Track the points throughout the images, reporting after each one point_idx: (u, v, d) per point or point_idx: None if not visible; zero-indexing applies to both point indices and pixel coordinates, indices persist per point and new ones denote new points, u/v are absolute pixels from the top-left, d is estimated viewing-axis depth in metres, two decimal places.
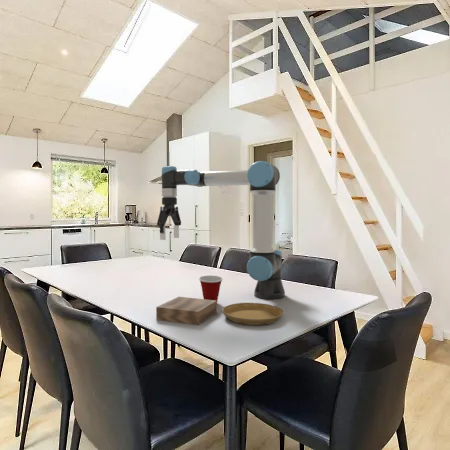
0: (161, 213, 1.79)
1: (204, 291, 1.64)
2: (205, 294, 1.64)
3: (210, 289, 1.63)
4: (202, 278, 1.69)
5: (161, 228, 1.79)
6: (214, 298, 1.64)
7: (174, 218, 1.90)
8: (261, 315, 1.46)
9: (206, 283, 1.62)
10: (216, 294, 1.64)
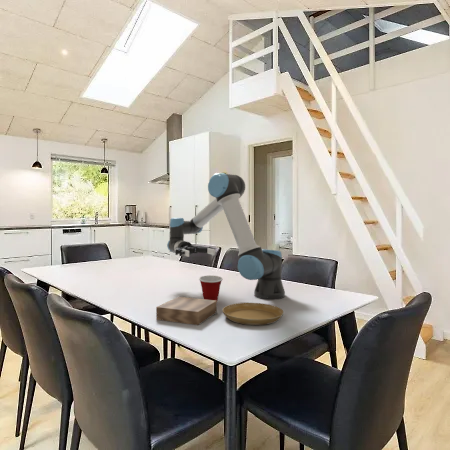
0: None
1: (204, 291, 1.64)
2: (205, 294, 1.64)
3: (210, 289, 1.63)
4: (202, 278, 1.69)
5: (180, 252, 1.75)
6: (214, 298, 1.64)
7: (200, 249, 1.85)
8: (261, 316, 1.46)
9: (206, 283, 1.62)
10: (216, 294, 1.64)
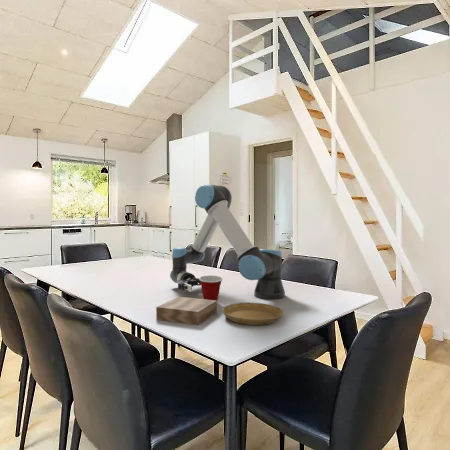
0: None
1: (204, 291, 1.64)
2: (205, 294, 1.64)
3: (210, 289, 1.63)
4: (202, 278, 1.69)
5: (183, 286, 1.72)
6: (214, 298, 1.64)
7: None
8: (261, 315, 1.46)
9: (206, 283, 1.62)
10: (216, 294, 1.64)
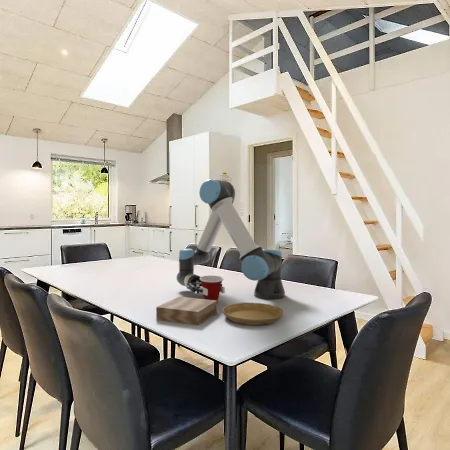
0: (189, 287, 1.71)
1: None
2: None
3: (210, 289, 1.63)
4: (203, 278, 1.69)
5: (198, 289, 1.64)
6: (215, 298, 1.64)
7: None
8: (261, 316, 1.46)
9: (207, 283, 1.62)
10: (217, 294, 1.65)
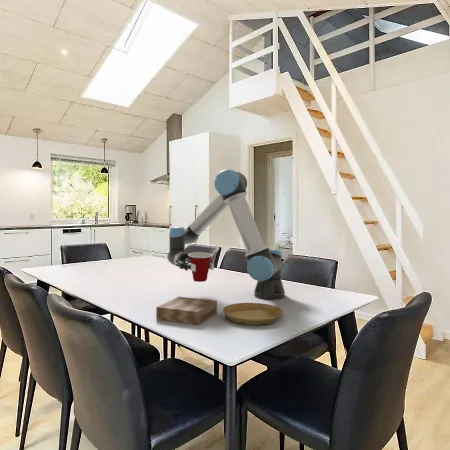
0: (178, 264, 1.65)
1: None
2: None
3: (199, 265, 1.56)
4: (191, 254, 1.63)
5: (186, 265, 1.58)
6: (203, 275, 1.58)
7: None
8: (261, 315, 1.46)
9: (195, 258, 1.56)
10: (206, 270, 1.58)
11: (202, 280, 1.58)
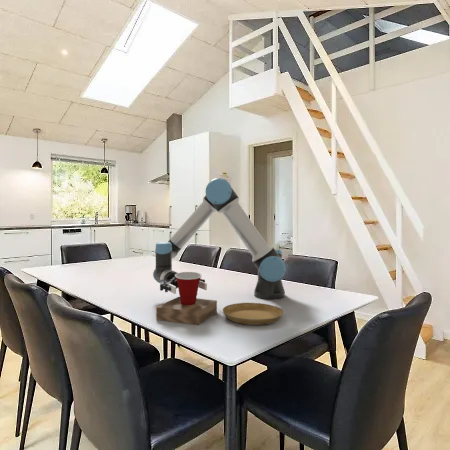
0: None
1: (180, 289, 1.45)
2: (182, 293, 1.45)
3: (186, 287, 1.43)
4: (179, 275, 1.50)
5: (166, 287, 1.45)
6: (192, 297, 1.45)
7: None
8: (261, 316, 1.46)
9: (183, 280, 1.43)
10: (194, 292, 1.45)
11: (190, 303, 1.45)
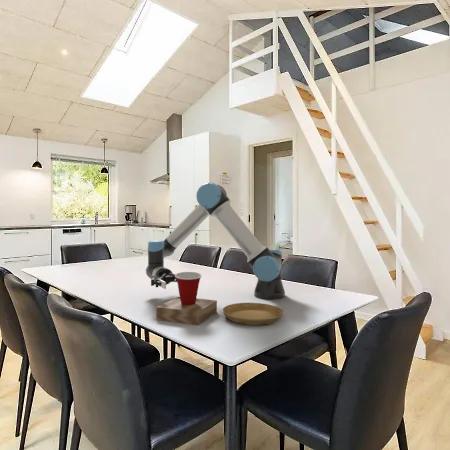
0: None
1: (180, 289, 1.45)
2: (182, 293, 1.45)
3: (186, 287, 1.43)
4: (179, 275, 1.50)
5: (156, 282, 1.54)
6: (192, 297, 1.45)
7: None
8: (261, 315, 1.46)
9: (183, 280, 1.43)
10: (194, 292, 1.45)
11: (190, 303, 1.45)
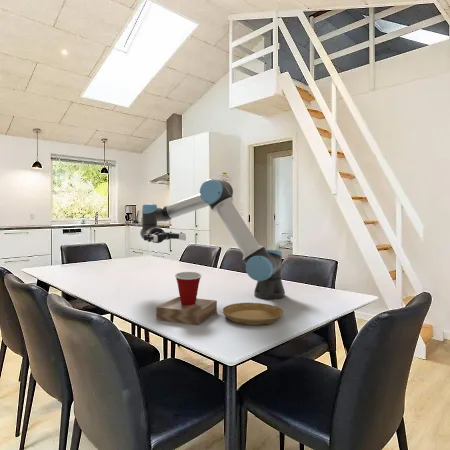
0: None
1: (180, 289, 1.45)
2: (182, 293, 1.45)
3: (186, 287, 1.43)
4: (179, 275, 1.50)
5: (149, 237, 1.66)
6: (192, 297, 1.45)
7: (171, 235, 1.76)
8: (261, 316, 1.46)
9: (183, 280, 1.43)
10: (194, 292, 1.45)
11: (190, 303, 1.45)
